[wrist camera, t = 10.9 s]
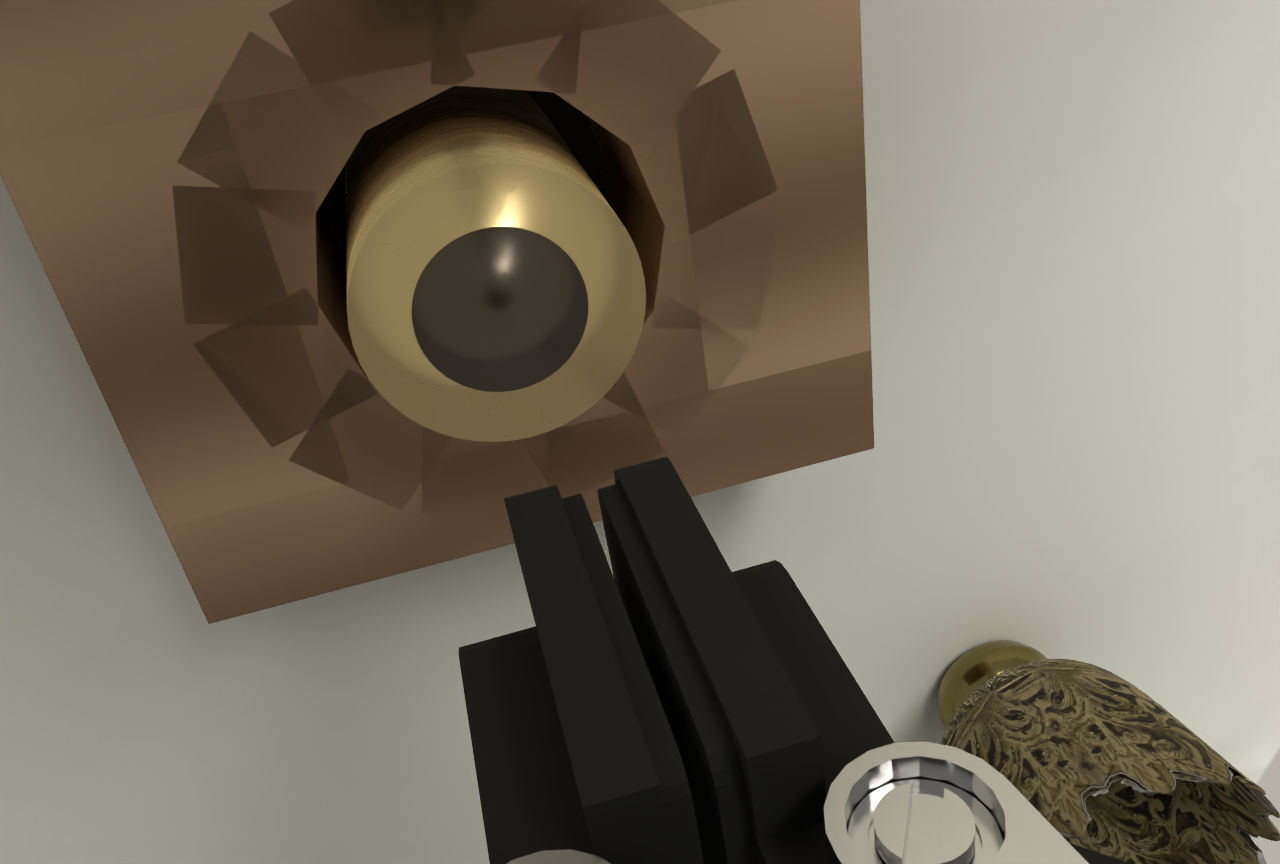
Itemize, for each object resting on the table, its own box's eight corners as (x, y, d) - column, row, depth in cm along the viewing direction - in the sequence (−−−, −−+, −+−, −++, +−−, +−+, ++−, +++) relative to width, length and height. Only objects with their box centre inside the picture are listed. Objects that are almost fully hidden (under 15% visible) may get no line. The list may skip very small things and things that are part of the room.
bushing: (317, 92, 20) (306, 202, 14) (542, 46, 21) (622, 134, 15) (379, 302, 23) (393, 473, 17) (581, 256, 23) (664, 405, 17)
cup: (905, 800, 35) (1042, 1033, 28) (839, 656, 31) (980, 887, 24) (1108, 695, 35) (1294, 904, 28) (1069, 538, 31) (1274, 737, 24)
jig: (-223, -619, 14) (-509, -846, 10) (700, -714, 16) (859, -945, 11) (230, 481, 24) (204, 652, 19) (784, 344, 26) (891, 468, 21)
